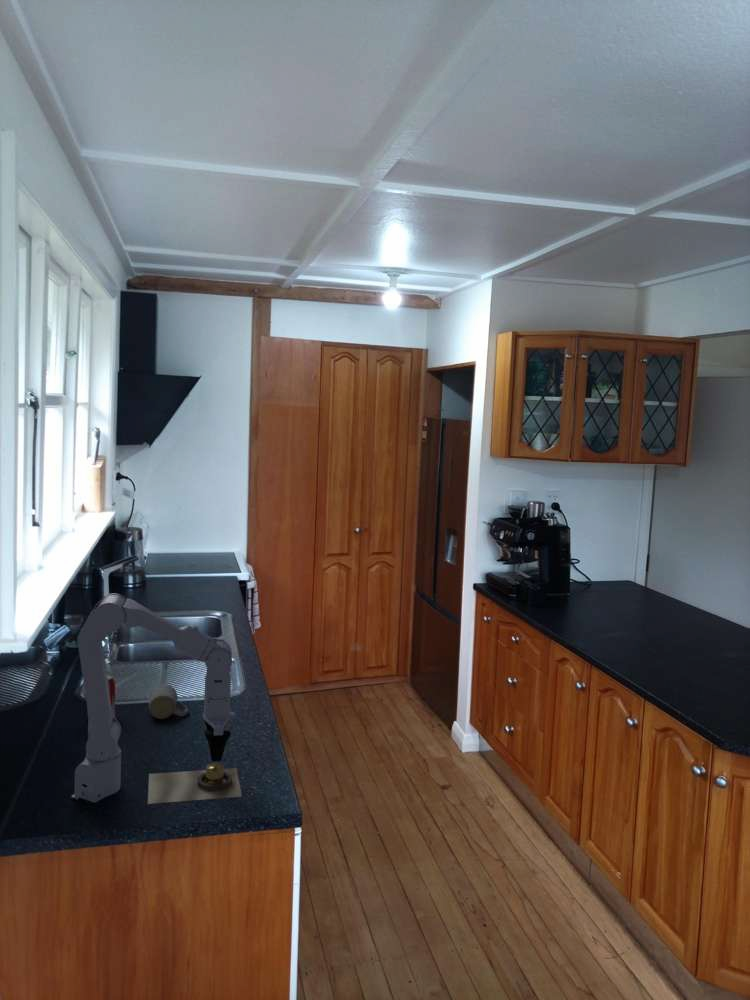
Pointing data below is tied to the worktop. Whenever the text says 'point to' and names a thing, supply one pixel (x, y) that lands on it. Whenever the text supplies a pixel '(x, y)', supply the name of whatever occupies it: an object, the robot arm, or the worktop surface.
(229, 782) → the jig board
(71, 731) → the worktop surface
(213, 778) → the brass fitting
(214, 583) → the worktop surface
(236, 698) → the worktop surface
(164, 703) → the ceramic mug
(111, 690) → the soda can
